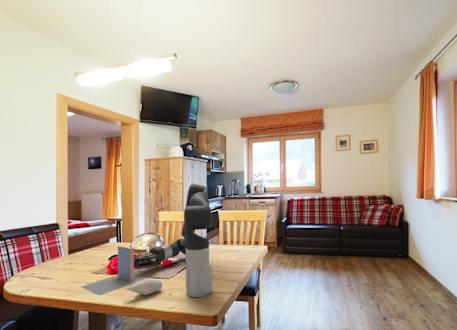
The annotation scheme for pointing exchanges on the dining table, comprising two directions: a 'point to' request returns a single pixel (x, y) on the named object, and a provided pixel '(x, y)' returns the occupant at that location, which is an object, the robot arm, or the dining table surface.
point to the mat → (111, 284)
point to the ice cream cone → (146, 286)
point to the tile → (126, 263)
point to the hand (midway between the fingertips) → (130, 262)
